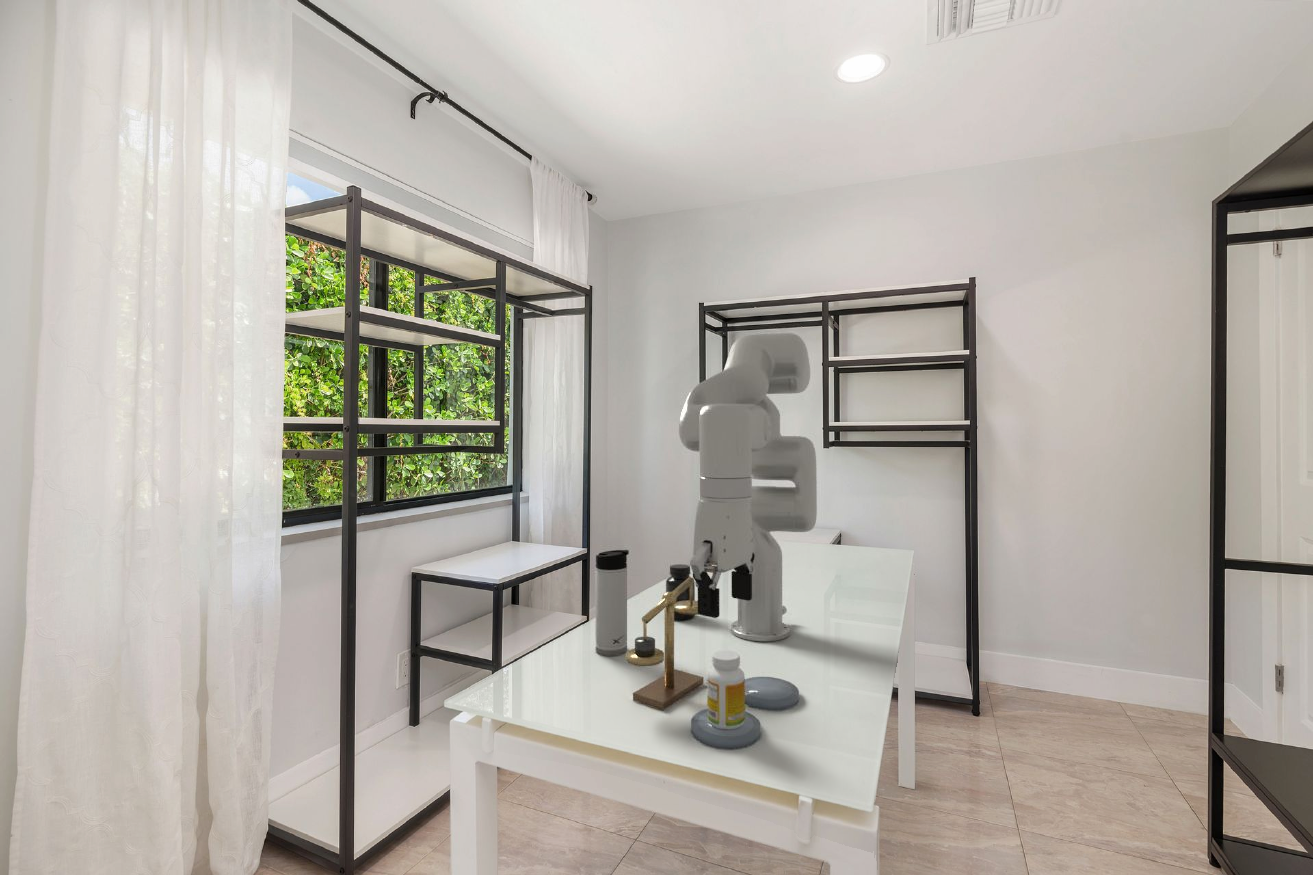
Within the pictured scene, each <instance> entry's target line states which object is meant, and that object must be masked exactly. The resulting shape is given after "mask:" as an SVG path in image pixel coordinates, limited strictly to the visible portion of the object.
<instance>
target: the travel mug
mask: <svg viewBox="0 0 1313 875" xmlns="http://www.w3.org/2000/svg"><path fill="white" fill-rule="evenodd" d="M629 553H630V551H629V549H615V550H612V549H611V550H607V551H606V550H605V551H601V552H599V553H598V554H597V555H595V652H596V654H599V655H601V656H606V657H616V656H620V655H623V654H624V653H625V654H626V652H627V651H628V564H627V562H628V560H627V559H628V557H627V556H628V555H629Z"/></svg>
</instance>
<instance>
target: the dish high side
mask: <svg viewBox="0 0 1313 875" xmlns="http://www.w3.org/2000/svg"><path fill="white" fill-rule="evenodd" d="M799 701H800V691H799V688H798V687H797V686H796V685H795V684H794V683H792V682H791V681H787V680H785V679H782V678H778V677H772V676H753V677H748V678H745V706H747V707H751V708H753V709H758V710H761V711H784V710H785V711H786V710H788V709H789V710H790V709H791V708H794V707H796V706H797V705H798V703H799Z"/></svg>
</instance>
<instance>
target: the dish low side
mask: <svg viewBox="0 0 1313 875" xmlns="http://www.w3.org/2000/svg"><path fill="white" fill-rule="evenodd" d="M761 726H762V725H761V722H760V719H759V718H758V717H757V716H755V715H754V714H752V713H751V712H749V711H746V710H745V722H744V724H743V725H742V726H741V727H739V728H736V729H729V730H727V729H719V728H716V727H714V726H712V725H711V724H710V723H709V721H708V714H707V708H704V709H702V710H699V711H698V712H696V713H695V714H694V715H692V717H691V719H690V733H691V735H692V737H693V738H694V739H695V740H696V741H697V742H699V743H700V744H703V745H705V746H707V747H710V748H714V749H719V750H720V749H721V750H739V749H744V748H748V747H750V746H752V745H754V744H756V743H757V742H758V741H759V740H760V738H761V736H762V735H761V733H762V732H761V731H762V730H761Z"/></svg>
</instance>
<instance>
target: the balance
mask: <svg viewBox="0 0 1313 875" xmlns="http://www.w3.org/2000/svg"><path fill="white" fill-rule="evenodd" d="M694 582H695V580H694V578H693V576H690V577H689V578H688V579H687V580H685V581H684V582H683V583H682V584H681V585H680V586H678V587H677V588H676V589H675V590H674V591H673V592H666V591H665V592H664V593H663V595H662V597H661V599H662V600H660V602H658V603H657V604H656V605H655V606H654V607H653V608H651V609H650V610H649V611H648V612H647V613H646V614H645V615H643V616H642V618H641V621H642V623H643V624H642V628H643V630H642V631H643V633H642V636H637V637H635V639H634V648H631V649H628V650H627V651H626V652H625V661H626V662H627V664H629V665H633V666H636V667H652V666H657V665H660V664H662V663H663V662H664V674H663V675H662V676H660V677H658V678H656V679H655V680H653V681H652V682H649V683H648V684H646V685H644V686H643V687H641V688H639V689H637V690H636V691H634V692H632V701H634V702H635V703H636V702H637V703H640V704H643V705H646V706H649V707H652V708H655V709H658V710H661V711H665V710H666V709H668V708H669V707H671V706H672V705H674V704H676V703H677V702H679V701H680V700H682V699H684V698H685V697H686V696H688V695H689V694H691V693H692V692H694V691H696V690H697V689H698V688H700V687H701V686H703V685H705V684H704V681H705V680H704V676H701V675H697V674H694V673H689V672H686V671H683V670H679V669H676V668H675V620H674V611H675V612H677V613H680V614H685V615H695V616H696V615H699V614H698V600H695V601H693V583H694ZM689 586H690V600H688V601H680V602H677V603H676V598H677V597H678V596H679V595H680V594H681V593H682V592H684V591H685V590H686V589H687V588H688V587H689ZM663 610H664V650H661V649H659V648H657V647H656V639H655V638H654V637H652V636H647V627H648V626H647V624H649V623H650V621H652V620H653V619H654V618H655V617H656V616H658V615H659V613H661V612H662V611H663Z"/></svg>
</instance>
